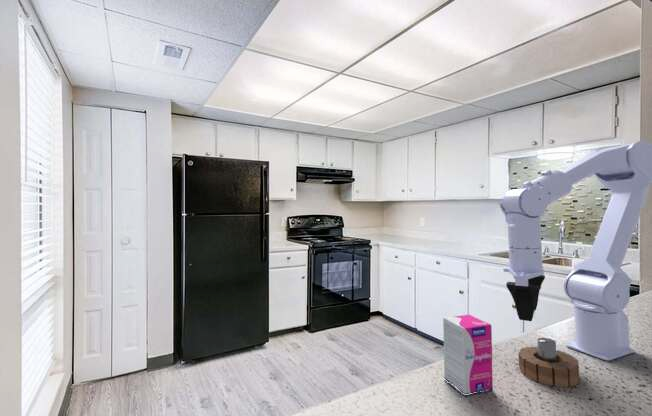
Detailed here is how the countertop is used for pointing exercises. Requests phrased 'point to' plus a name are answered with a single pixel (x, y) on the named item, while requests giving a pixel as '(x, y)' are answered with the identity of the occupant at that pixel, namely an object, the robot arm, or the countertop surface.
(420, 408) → the countertop surface
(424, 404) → the countertop surface
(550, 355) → the metal peg
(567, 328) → the countertop surface
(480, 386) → the supplement box
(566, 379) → the walnut bead
